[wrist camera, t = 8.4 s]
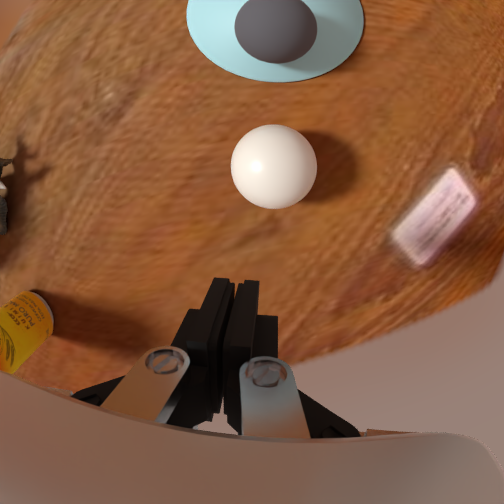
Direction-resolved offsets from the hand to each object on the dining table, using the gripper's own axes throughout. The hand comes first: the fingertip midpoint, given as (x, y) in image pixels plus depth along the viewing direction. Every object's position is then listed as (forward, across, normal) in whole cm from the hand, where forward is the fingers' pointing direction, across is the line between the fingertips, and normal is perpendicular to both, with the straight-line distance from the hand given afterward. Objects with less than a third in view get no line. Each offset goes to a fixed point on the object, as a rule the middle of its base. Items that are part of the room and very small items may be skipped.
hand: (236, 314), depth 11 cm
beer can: (+12, +25, +11) cm, 30 cm away
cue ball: (+10, -1, -5) cm, 11 cm away
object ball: (+10, -1, -15) cm, 18 cm away
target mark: (+13, -1, -18) cm, 22 cm away
